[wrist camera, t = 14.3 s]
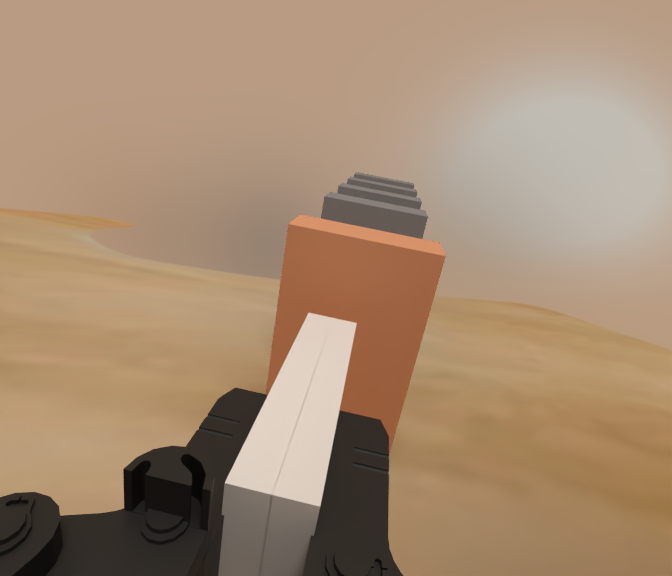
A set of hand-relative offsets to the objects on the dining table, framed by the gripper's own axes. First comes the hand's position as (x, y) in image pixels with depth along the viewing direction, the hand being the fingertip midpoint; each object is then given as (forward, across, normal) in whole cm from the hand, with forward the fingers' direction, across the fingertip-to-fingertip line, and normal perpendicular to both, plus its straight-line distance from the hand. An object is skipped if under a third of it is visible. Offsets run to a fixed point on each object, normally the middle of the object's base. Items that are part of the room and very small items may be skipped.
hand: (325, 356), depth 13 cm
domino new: (+2, 0, -7) cm, 8 cm away
